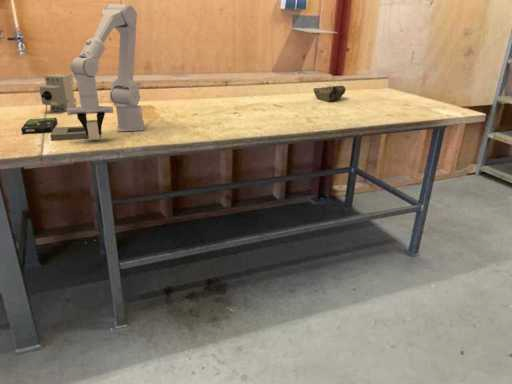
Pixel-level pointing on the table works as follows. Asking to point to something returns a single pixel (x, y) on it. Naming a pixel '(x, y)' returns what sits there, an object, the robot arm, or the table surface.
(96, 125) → the block
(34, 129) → the disk drive
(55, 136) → the outlet plate
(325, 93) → the concrete fragment
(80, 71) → the robot arm
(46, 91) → the circuit breaker
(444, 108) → the table surface
